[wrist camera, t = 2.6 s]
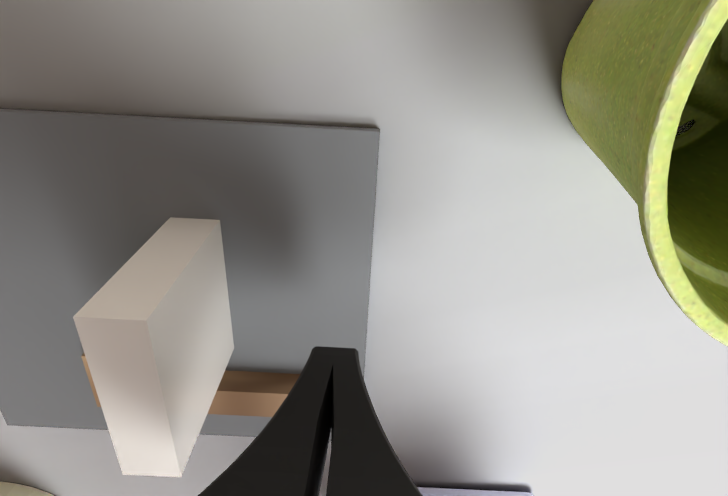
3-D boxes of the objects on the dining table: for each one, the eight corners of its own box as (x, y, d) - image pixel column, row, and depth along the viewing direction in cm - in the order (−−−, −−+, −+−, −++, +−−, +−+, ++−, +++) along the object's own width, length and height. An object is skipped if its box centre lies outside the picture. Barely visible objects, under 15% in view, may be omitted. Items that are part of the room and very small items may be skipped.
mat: (359, 434, 22) (359, 441, 22) (13, 418, 22) (7, 425, 22) (379, 128, 15) (379, 131, 15) (-130, 101, 15) (-142, 103, 15)
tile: (234, 347, 19) (181, 477, 14) (190, 345, 19) (120, 474, 14) (219, 219, 16) (146, 320, 11) (169, 217, 16) (71, 316, 11)
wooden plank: (341, 362, 19) (339, 382, 18) (339, 411, 21) (338, 432, 20) (86, 349, 19) (69, 369, 18) (102, 400, 21) (87, 421, 20)
